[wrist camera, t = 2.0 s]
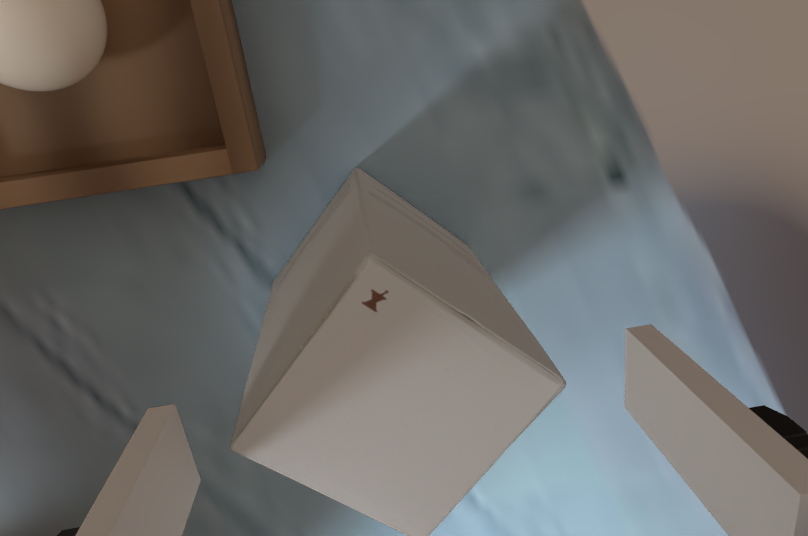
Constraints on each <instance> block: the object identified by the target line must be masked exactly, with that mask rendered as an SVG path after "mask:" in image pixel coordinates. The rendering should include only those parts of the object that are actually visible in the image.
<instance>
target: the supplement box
mask: <svg viewBox="0 0 808 536" xmlns="http://www.w3.org/2000/svg"><path fill="white" fill-rule="evenodd" d="M565 386H566V382H565V380H564V378H563V377H562V375H561V374H560V372H559V371H558V369H557V368H556V367H555V365H554V364H553V362H552V361H551V359H550V358H549V356H548V355H547V353H546V352H545V351H544V349H543V348H542V346H541V345H540V344H539V342H538V341H537V339H536V338H535V337H534V335H533V334H532V333H531V331H530V330H529V329H528V327H527V326H526V324H525V323H524V322H523V320H522V319H521V318H520V316H519V315H518V314H517V312H516V311H515V310H514V308H513V307H512V306H511V304H510V303H509V302H508V300H507V299H506V298H505V296H504V295H503V293H502V292H501V291H500V289H499V288H498V287H497V285H496V284H495V283H494V281H493V280H492V278H491V277H490V276H489V274H488V273H487V272H486V270H485V269H484V268H483V266H482V265H481V263H480V262H479V261H478V259H477V258H476V256H475V255H474V253H473V252H472V251H471V249H470V248H469V247H468V246H467V245H466V244H464V243H463V242H462V241H460V240H459V239H458V238H457V237H455V236H454V235H453V234H451V233H450V232H448V231H447V230H446V229H444V228H443V227H442V226H440V225H439V224H437V223H436V222H435V221H433V220H432V219H430V218H429V217H428V216H426V215H425V214H423V213H422V212H420V211H419V210H418V209H416V208H415V207H413V206H412V205H411V204H409V203H408V202H406V201H405V200H403V199H402V198H401V197H399V196H398V195H396V194H395V193H394V192H392V191H391V190H389V189H388V188H386V187H385V186H384V185H382V184H381V183H379V182H378V181H376V180H375V179H374V178H372V177H371V176H369V175H368V174H366V173H365V172H364V171H362V170H361V169H359V168H358V167H355V168H354V170H353V171H352V172H351V174H350V175H349V177H348V178H347V179H346V181H345V182H344V184H343V185H342V186H341V188H340V189H339V191H338V192H337V193H336V195H335V196H334V198H333V199H332V200H331V202H330V203H329V204H328V206H327V207H326V209H325V210H324V211H323V213H322V214H321V215H320V217H319V218H318V220H317V221H316V222H315V224H314V225H313V227H312V228H311V229H310V231H309V232H308V234H307V235H306V236H305V238H304V239H303V240H302V242H301V243H300V245H299V246H298V247H297V249H296V250H295V252H294V253H293V254H292V256H291V257H290V259H289V260H288V261H287V263H286V264H285V266H284V267H283V268H282V270H281V271H280V273H279V274H278V276H277V277H276V279H275V280H274V282H273V284H272V288H271V293H270V297H269V300H268V304H267V308H266V311H265V315H264V320H263V323H262V327H261V331H260V334H259V338H258V342H257V345H256V349H255V353H254V356H253V360H252V364H251V368H250V371H249V375H248V379H247V383H246V387H245V391H244V395H243V398H242V402H241V406H240V410H239V414H238V418H237V422H236V426H235V429H234V433H233V437H232V441H231V446H230V447H231V450H232V451H234V452H236V453H238V454H240V455H242V456H244V457H246V458H248V459H250V460H253V461H255V462H257V463H259V464H261V465H263V466H265V467H268V468H270V469H272V470H274V471H276V472H278V473H280V474H282V475H284V476H286V477H289V478H291V479H293V480H295V481H297V482H299V483H301V484H303V485H305V486H307V487H309V488H311V489H313V490H315V491H317V492H319V493H321V494H323V495H325V496H327V497H330V498H332V499H334V500H336V501H338V502H340V503H342V504H344V505H346V506H348V507H350V508H352V509H354V510H356V511H358V512H361V513H363V514H365V515H367V516H369V517H371V518H373V519H375V520H377V521H379V522H381V523H383V524H385V525H387V526H389V527H391V528H393V529H395V530H397V531H399V532H402V533H404V534H406V535H408V536H429V535H430V534H431V533H432V531H433V530H434V529H435V528H436V527H437V526H438V525H439V524H440V523H441V522H442V521H443V519H444V518H445V517H446V516H447V515H448V514H449V513H450V512H451V511H452V510H453V508H454V507H455V506H456V505H457V504H458V503H459V502H460V501H461V499H462V498H463V497H464V496H465V495H466V494H467V493H468V492H469V491H470V490H471V488H472V487H473V486H474V485H475V484H476V483H477V482H478V481H479V480H480V478H481V477H482V476H483V475H484V474H485V473H486V472H487V471H488V470H489V468H490V467H491V466H492V465H493V464H494V463H495V462H496V460H497V459H498V458H499V457H500V456H501V455H502V454H503V452H504V451H505V450H506V449H507V448H508V447H509V446H510V445H511V444H512V443H513V442H514V441H515V440H516V438H517V437H518V436H519V435H520V434H521V433H522V432H523V431H524V430H525V429H526V428H527V427H528V426H529V425H530V424H531V423H532V422H533V421H534V420H535V419H536V417H537V416H538V415H539V414H540V413H541V412H542V411H543V410H544V409H545V408H546V407H547V406H548V405H549V403H550V402H551V401H552V400H553V399H554V398H555V397H556V396H557V395H558V394H559V393H560V392H561V391H562V390H563V389H564V388H565Z"/></svg>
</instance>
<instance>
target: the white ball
mask: <svg viewBox="0 0 808 536" xmlns="http://www.w3.org/2000/svg"><path fill="white" fill-rule="evenodd" d="M106 41H107V19H106V15H105V10H104V7H103V5H102V2H101V0H0V83H1V84H3V85H6V86H10V87H13V88H16V89H21V90H26V91H41V92H43V91H53V90H58V89H63V88H66V87H69V86H71V85H74V84H75V83H77V82H79V81H81V80H82V79H83V78H85V77H86V76H87V75H89V74H90V73H91V72H92V71H93V70H94V68H95V67H96V66H97V64H98V63H99V61H100V59H101V57H102V55H103V53H104V49H105V46H106Z"/></svg>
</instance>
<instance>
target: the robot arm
mask: <svg viewBox="0 0 808 536" xmlns="http://www.w3.org/2000/svg"><path fill="white" fill-rule="evenodd" d="M625 408H626V409H627V411H628V412H629V413H630V414H631V416H632V417H633V418H634V419H635V420H636V422H637V423H638V424H639V425H640V427H641V428H642V429H643V430H644V432H645V433H646V434H647V435H648V437H649V438H650V439H651V440H652V442H653V443H654V444H655V445H656V446H657V448H658V449H659V450H660V451H661V453H662V454H663V455H664V456H665V458H666V459H667V460H668V461H669V463H670V464H671V465H672V466H673V468H674V469H675V470H676V471H677V473H678V474H679V475H680V476H681V477H682V479H683V480H684V481H685V482H686V484H687V485H688V486H689V487H690V489H691V490H692V491H693V492H694V494H695V495H696V496H697V497H698V499H699V500H700V501H701V502H702V503H703V505H704V506H705V507H706V508H707V510H708V511H709V512H710V513H711V515H712V516H713V517H714V518H715V520H716V521H717V522H718V523H719V525H720V526H721V527H722V528H723V530H724V531H725V532H726V533H727V534H728V536H808V435H807V433H806V431H805V430H804V429H803V428H801V427H800V426H799V425H797V424H796V423H795V422H794V421H793V420H791V419H790V418H789V417H787V416H785V415H783V414H781V413H779V412H777V411H775V410H773V409H770V408H768V407H766V406H764V405H763V406H758V407H752V408H748V407H747V406H746V405H744V404H743V403H742V402H741V401H740V400H739V399H737V398H736V397H735V396H734V395H733V394H732V393H730V392H729V391H728V390H727V389H726V388H725V387H723V386H722V385H721V384H720V383H719V382H718V381H716V380H715V379H714V378H713V377H712V376H711V375H710V374H708V373H707V372H706V371H705V370H704V369H703V368H701V367H700V366H699V365H698V364H697V363H696V362H694V361H693V360H692V359H691V358H690V357H689V356H687V355H686V354H685V353H684V352H683V351H682V350H680V349H679V348H678V347H677V346H676V345H675V344H673V343H672V342H671V341H670V340H669V339H668V338H667V337H665V336H664V335H663V334H662V333H661V332H660V331H658V330H657V329H656V328H655V327H654V326H653V325H651V324H650V325H644V326H638V327H632V328H626V351H625ZM200 482H201V479H200V476H199V473H198V470H197V467H196V464H195V461H194V458H193V455H192V452H191V449H190V447H189V444H188V441H187V438H186V435H185V432H184V429H183V426H182V423H181V420H180V417H179V414H178V411H177V408H176V405H175V404H172V405H166V406H160V407H154V408H148V409H147V411H146V413H145V414H144V416H143V418H142V420H141V421H140V423H139V425H138V427H137V428H136V430H135V432H134V434H133V435H132V437H131V439H130V441H129V442H128V444H127V446H126V448H125V449H124V451H123V453H122V455H121V456H120V458H119V460H118V462H117V463H116V465H115V467H114V469H113V470H112V472H111V474H110V476H109V477H108V479H107V481H106V483H105V484H104V486H103V488H102V490H101V491H100V493H99V495H98V497H97V498H96V500H95V502H94V504H93V505H92V507H91V509H90V511H89V513H88V514H87V516H86V518H85V520H84V521H83V523H82V525H81V527H78V528H73V529H67V530H62V531H61V532H60V533H59V534H58V535H57V536H182V534H183V531H184V528H185V525H186V522H187V520H188V517H189V514H190V511H191V508H192V505H193V502H194V499H195V496H196V493H197V491H198V488H199V485H200Z"/></svg>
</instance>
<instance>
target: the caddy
mask: <svg viewBox="0 0 808 536" xmlns="http://www.w3.org/2000/svg"><path fill="white" fill-rule="evenodd" d="M101 2H102V5H103V7H104V10H105V15H106V19H107V41H106V46H105V49H104V53H103V55H102V57H101V59H100V61H99V63H98V64H97V66H96V67H95V68H94V70H93V71H92V72H91V73H90V74H89V75H87V76H86V77H85V78H83V79H82V80H81V81H79V82H77V83H75V84H74V85H71V86H69V87H66V88H63V89H58V90H53V91H43V92H41V91H26V90H21V89H16V88H13V87H10V86H6V85H3V84H1V83H0V209H5V208H11V207H18V206H24V205H31V204H38V203H44V202H51V201H57V200H64V199H71V198H77V197H84V196H90V195H97V194H104V193H110V192H117V191H123V190H130V189H137V188H143V187H150V186H157V185H163V184H170V183H176V182H183V181H190V180H196V179H203V178H209V177H216V176H223V175H229V174H236V173H242V172H249V171H256V170H258V169H259V168H260V166H261V165H262V164H263V162H264V161H265V160H266V154H265V150H264V145H263V141H262V136H261V132H260V127H259V123H258V118H257V114H256V109H255V105H254V100H253V96H252V91H251V86H250V82H249V77H248V73H247V68H246V64H245V59H244V55H243V50H242V46H241V41H240V37H239V32H238V28H237V23H236V19H235V14H234V10H233V5H232V0H101Z"/></svg>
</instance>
